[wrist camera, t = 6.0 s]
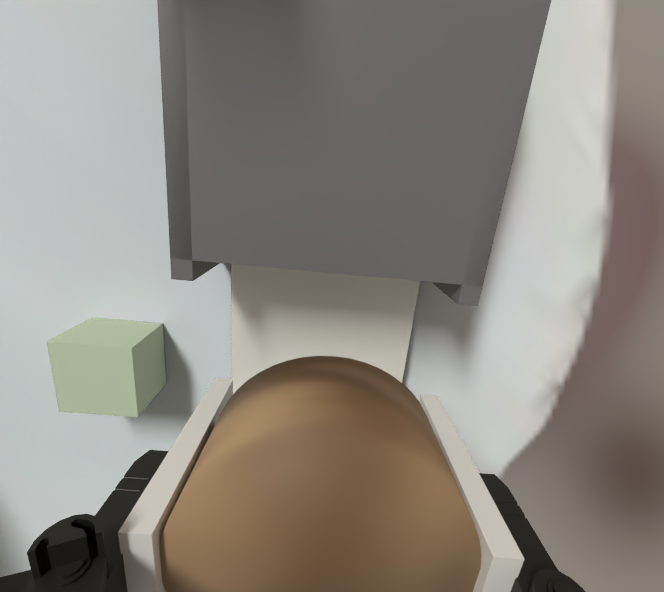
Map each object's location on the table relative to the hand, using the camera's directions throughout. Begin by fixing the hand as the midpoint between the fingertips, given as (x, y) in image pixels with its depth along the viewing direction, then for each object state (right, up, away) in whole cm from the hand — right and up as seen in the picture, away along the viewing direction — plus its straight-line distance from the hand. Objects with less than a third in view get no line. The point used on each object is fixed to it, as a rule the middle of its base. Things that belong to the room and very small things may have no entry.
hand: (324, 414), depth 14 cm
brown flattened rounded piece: (0, -1, -2) cm, 2 cm away
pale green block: (-15, +1, +10) cm, 18 cm away
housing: (+1, +15, +6) cm, 16 cm away
